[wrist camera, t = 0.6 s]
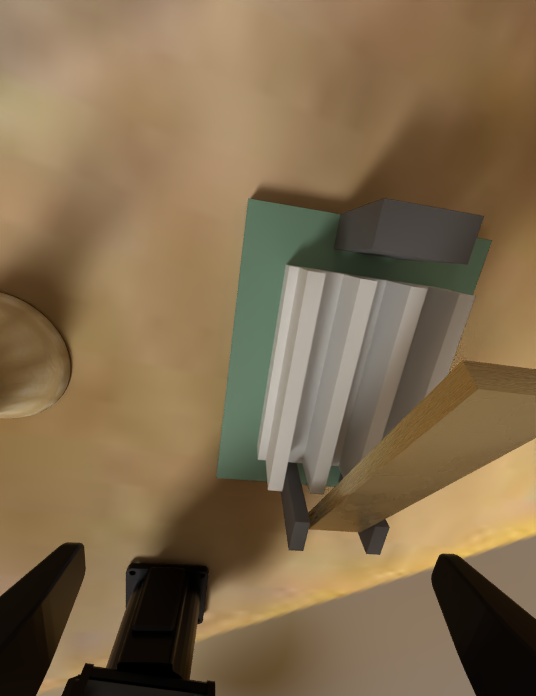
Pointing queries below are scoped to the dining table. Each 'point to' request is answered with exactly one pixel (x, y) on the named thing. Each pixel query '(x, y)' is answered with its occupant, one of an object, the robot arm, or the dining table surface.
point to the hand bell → (29, 360)
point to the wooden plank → (435, 445)
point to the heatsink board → (339, 339)
